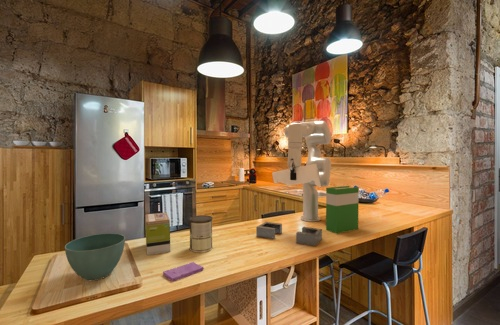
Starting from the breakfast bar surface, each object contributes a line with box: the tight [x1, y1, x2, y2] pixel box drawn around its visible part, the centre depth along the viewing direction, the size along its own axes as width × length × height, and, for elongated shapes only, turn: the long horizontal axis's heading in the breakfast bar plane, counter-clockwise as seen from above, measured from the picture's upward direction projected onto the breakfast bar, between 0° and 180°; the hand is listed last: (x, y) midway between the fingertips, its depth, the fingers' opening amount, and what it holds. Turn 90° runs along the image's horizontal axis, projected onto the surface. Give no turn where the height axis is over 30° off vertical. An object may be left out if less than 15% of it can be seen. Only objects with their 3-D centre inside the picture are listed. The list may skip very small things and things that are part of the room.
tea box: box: [144, 212, 171, 256], centre depth 117 cm, size 15×10×15 cm, turn 23°
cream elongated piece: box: [271, 164, 322, 188], centre depth 140 cm, size 6×25×13 cm, turn 62°
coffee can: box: [189, 214, 213, 254], centre depth 117 cm, size 10×10×14 cm
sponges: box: [162, 261, 205, 283], centre depth 93 cm, size 7×13×2 cm, turn 135°
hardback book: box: [325, 185, 360, 235], centre depth 146 cm, size 18×7×24 cm, turn 119°
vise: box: [255, 221, 323, 247], centre depth 132 cm, size 12×31×5 cm, turn 62°
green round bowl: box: [64, 232, 126, 281], centre depth 91 cm, size 18×18×12 cm
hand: (295, 179), depth 140 cm, fingers closed on cream elongated piece, 5 cm apart
